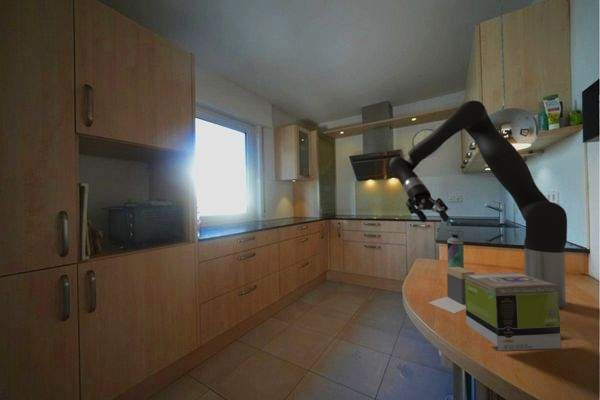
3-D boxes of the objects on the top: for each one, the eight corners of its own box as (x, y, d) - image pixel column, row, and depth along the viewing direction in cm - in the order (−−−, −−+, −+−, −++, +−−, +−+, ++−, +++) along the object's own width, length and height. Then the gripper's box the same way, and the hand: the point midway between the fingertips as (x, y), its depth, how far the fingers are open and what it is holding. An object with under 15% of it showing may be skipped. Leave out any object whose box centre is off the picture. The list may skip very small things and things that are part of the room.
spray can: (454, 280, 98) (453, 232, 99) (467, 284, 93) (466, 234, 93) (444, 281, 97) (444, 233, 97) (457, 286, 92) (456, 235, 92)
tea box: (519, 326, 62) (518, 271, 62) (562, 350, 52) (561, 284, 52) (464, 328, 62) (463, 272, 62) (497, 352, 52) (497, 286, 52)
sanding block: (459, 296, 79) (459, 266, 79) (474, 303, 73) (474, 272, 73) (447, 296, 79) (447, 267, 79) (461, 304, 73) (461, 272, 73)
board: (453, 297, 81) (453, 294, 81) (480, 306, 74) (480, 303, 74) (428, 306, 74) (428, 302, 74) (454, 317, 67) (454, 313, 67)
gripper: (403, 183, 92) (422, 213, 81) (436, 183, 94) (459, 213, 83) (396, 197, 97) (413, 227, 86) (427, 196, 99) (448, 226, 88)
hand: (436, 220), depth 84 cm, fingers open, 8 cm apart
